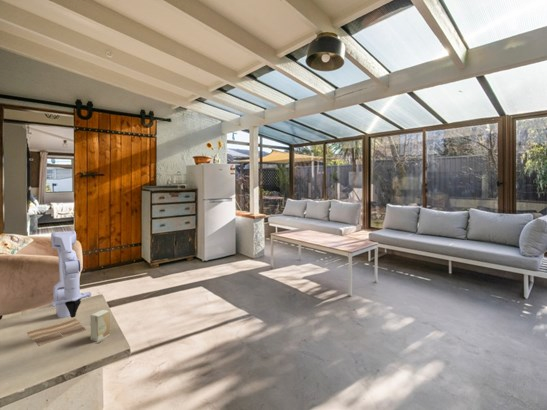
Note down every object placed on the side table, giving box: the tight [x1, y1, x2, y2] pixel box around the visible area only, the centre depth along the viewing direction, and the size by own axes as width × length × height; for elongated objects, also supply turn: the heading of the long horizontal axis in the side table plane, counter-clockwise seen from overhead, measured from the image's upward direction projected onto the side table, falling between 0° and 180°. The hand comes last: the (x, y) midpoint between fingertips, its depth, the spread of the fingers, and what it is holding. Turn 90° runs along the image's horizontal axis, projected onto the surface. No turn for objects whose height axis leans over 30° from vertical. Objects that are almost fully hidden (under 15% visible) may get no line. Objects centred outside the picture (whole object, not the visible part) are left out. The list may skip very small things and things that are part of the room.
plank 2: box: [59, 325, 87, 338], centre depth 130 cm, size 7×8×1 cm
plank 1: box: [34, 332, 65, 347], centre depth 123 cm, size 7×8×1 cm
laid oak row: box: [26, 317, 83, 341], centre depth 132 cm, size 10×18×1 cm, turn 141°
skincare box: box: [90, 309, 111, 344], centre depth 125 cm, size 6×4×12 cm
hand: (72, 316), depth 129 cm, fingers closed
